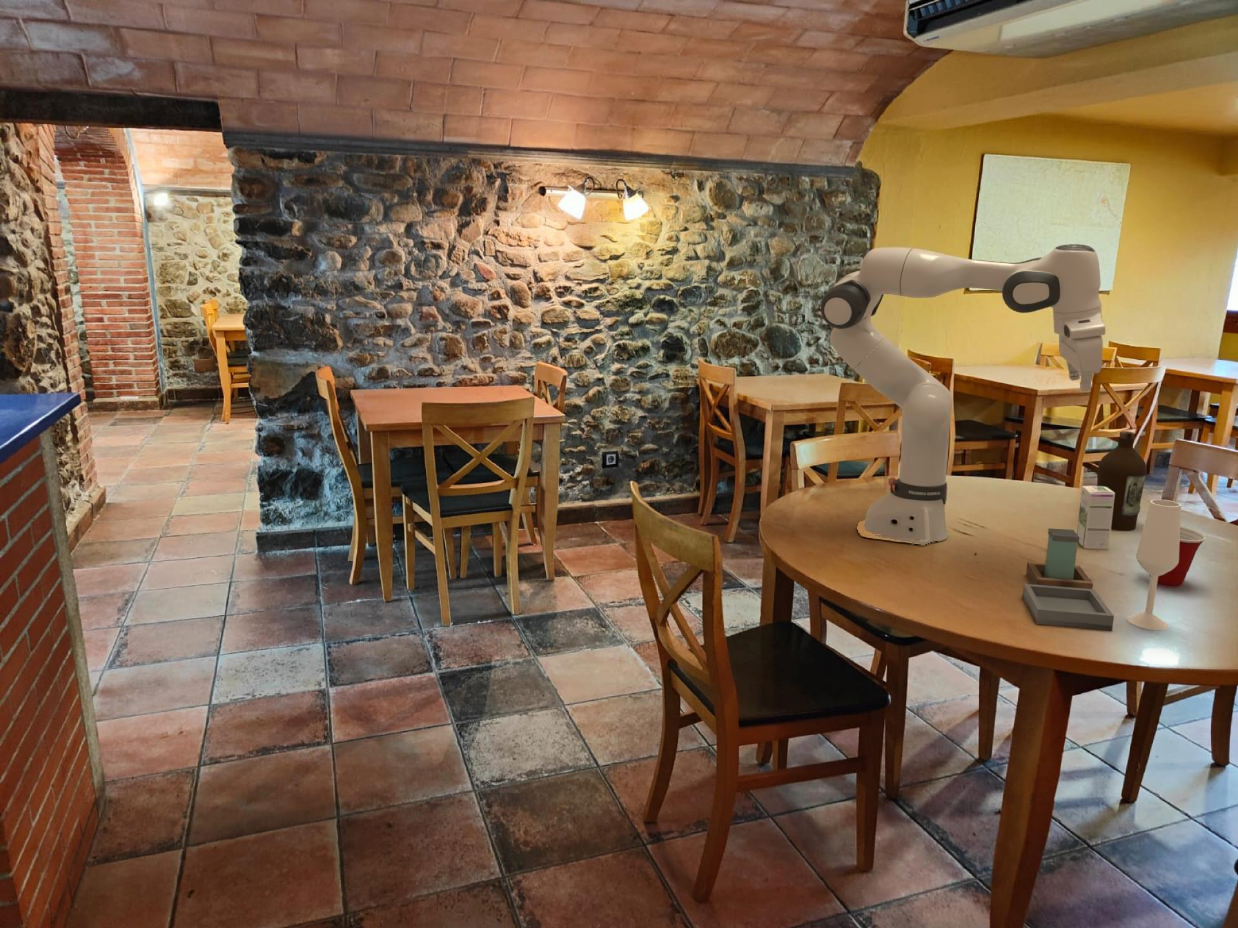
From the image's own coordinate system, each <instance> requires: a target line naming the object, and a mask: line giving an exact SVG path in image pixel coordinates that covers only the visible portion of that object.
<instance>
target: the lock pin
mask: <svg viewBox="0 0 1238 928" xmlns="http://www.w3.org/2000/svg"><path fill="white" fill-rule="evenodd" d="M1047 534H1048V538H1047V545H1046V546H1047V548H1046V554H1045V556H1046V557H1045V562H1044V563H1045V572H1044V578H1054V579H1067V580H1073V577H1074V569H1075V565H1076V562H1077V561H1076V558H1077V553H1078V544H1079V536H1078V535H1077V531H1075V530H1074V529H1065V528H1064V529H1063V528H1048V530H1047Z"/></svg>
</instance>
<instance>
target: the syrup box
mask: <svg viewBox="0 0 1238 928" xmlns="http://www.w3.org/2000/svg"><path fill="white" fill-rule="evenodd" d="M1114 498H1115V493H1114V492H1113V491H1112V490H1110V489H1109V488H1107V487H1105V486H1097V485H1082V486H1081V493H1080V501H1079V502H1080V503H1079V510H1078V511H1079V512H1078V520H1077V527H1076V528H1077V529H1076V534H1077V535H1078V536H1079V543H1078V544H1079V546H1081V547H1082V548H1083V549H1086V550H1106V551H1107V550H1109V547H1110V540H1111V533H1112V530H1111V524H1112V515H1113V506H1114Z"/></svg>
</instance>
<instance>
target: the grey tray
mask: <svg viewBox="0 0 1238 928" xmlns="http://www.w3.org/2000/svg"><path fill="white" fill-rule="evenodd" d="M1021 598H1022V600H1023V601H1024V603H1025V605H1026V607H1027V608H1028V609H1027V610H1028V611H1029V613H1030V615H1031V617H1032V619H1033V621H1034V622H1035V625H1047V626H1055V627H1056V626H1057V627H1068V628H1069V627H1070V628H1078V629H1079V628H1081V629H1091V630H1101V631H1112V632H1113V627H1114V619H1115V615H1114V613H1112V611H1111V610H1110V609H1109V607H1108V606H1107V605H1106V603H1105V602H1104V600H1103V599H1102V597H1100V596H1099V593H1097V592H1096V590H1095V589H1094V588H1093V589H1083V588H1071V587H1058V586H1045V585H1033V584H1031V583H1030V584H1029V583H1023V587H1022V597H1021Z"/></svg>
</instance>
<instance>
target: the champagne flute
mask: <svg viewBox="0 0 1238 928" xmlns="http://www.w3.org/2000/svg"><path fill="white" fill-rule="evenodd" d="M1146 512H1147V513H1146V517H1145V520H1144V525H1143V528H1142V532H1141V534H1140V535H1141V536H1140V540H1139V543H1138V546H1137V550H1136V554H1135V557H1136V560H1137V562H1138V564H1139V566H1141V568H1142V569H1143V570H1144V571H1145V572H1146V573H1147V574H1148V575H1149V577H1150V575H1151V577H1150V578H1149V585H1148V591H1147V597H1146V598H1147V599H1146V603H1145V604H1146V605H1145V611H1144V612H1141V613H1137V614H1132V615H1128V616H1127V617H1126V620H1127V621H1128V622H1129V624H1132V625H1133V626H1135V627H1136V626H1137V627H1139V628H1143V629H1147V630H1152V631H1161V630H1167V629H1168V627H1169V624H1168V623H1167V622H1165V621H1164V620H1162V619H1161V618H1159V617H1158V616H1156V615H1155V614H1154V613H1153V612H1154V607H1155V606H1154V605H1155V598H1156V593H1157V586H1158V584H1157V581H1158V576H1161V575H1163V574H1165V573H1167V572H1169V571H1171V570H1172V569H1174V568H1175V567H1176V566H1177V565H1178V563H1179V542H1180V526H1181V518H1182V517H1181V516H1182V515H1181V513H1182V504H1181V503H1179V502H1178V501H1174V500H1169V499H1151V500H1150V501H1149V505H1148V509H1147V511H1146Z"/></svg>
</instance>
